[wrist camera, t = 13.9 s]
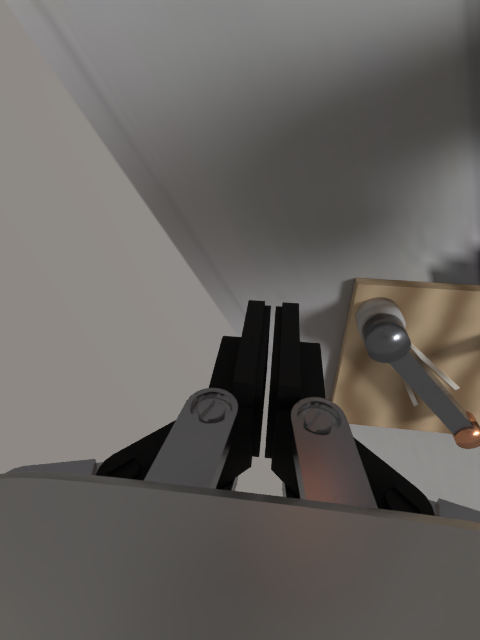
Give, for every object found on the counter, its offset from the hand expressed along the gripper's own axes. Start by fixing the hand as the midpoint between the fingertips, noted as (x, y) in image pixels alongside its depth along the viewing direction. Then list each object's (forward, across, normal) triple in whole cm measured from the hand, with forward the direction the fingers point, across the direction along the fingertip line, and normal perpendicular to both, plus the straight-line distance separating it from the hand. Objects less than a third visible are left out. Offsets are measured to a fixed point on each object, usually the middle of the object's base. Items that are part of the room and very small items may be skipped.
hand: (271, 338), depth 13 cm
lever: (+25, -18, +22) cm, 38 cm away
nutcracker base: (+29, -20, +24) cm, 42 cm away
